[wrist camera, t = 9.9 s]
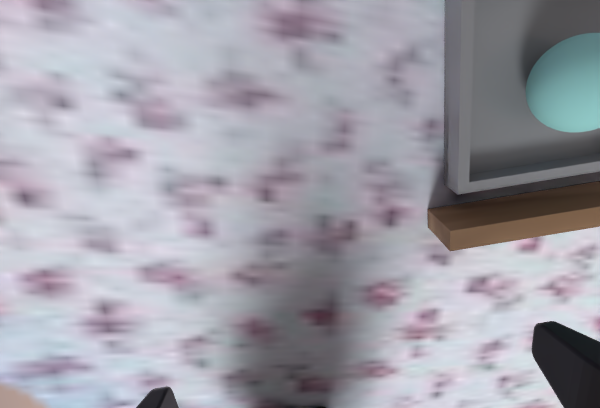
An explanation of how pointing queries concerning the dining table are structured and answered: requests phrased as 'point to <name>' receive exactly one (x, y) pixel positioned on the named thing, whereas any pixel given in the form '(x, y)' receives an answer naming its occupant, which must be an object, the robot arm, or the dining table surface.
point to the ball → (567, 85)
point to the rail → (517, 216)
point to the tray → (508, 93)
